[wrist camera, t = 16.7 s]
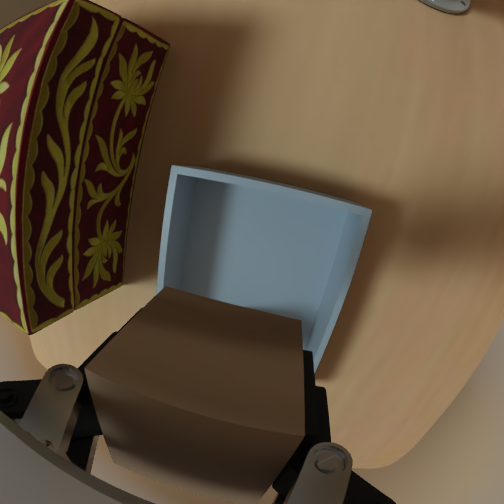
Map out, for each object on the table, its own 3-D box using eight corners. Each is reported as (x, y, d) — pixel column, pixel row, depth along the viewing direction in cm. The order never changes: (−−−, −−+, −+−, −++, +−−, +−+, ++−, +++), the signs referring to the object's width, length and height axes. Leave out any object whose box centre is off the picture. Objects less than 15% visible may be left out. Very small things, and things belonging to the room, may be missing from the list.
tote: (195, 165, 25) (171, 165, 20) (355, 201, 24) (372, 210, 19) (172, 348, 31) (154, 377, 26) (295, 380, 30) (294, 414, 25)
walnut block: (165, 285, 10) (84, 368, 5) (301, 320, 9) (304, 436, 5) (161, 381, 11) (113, 462, 7) (268, 410, 11) (254, 506, 6)
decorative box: (58, 56, 23) (-22, 34, 9) (172, 44, 22) (89, -25, 8) (29, 244, 31) (-47, 278, 17) (124, 285, 30) (38, 354, 16)
